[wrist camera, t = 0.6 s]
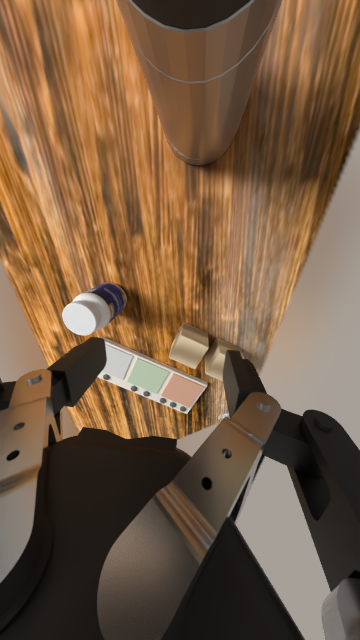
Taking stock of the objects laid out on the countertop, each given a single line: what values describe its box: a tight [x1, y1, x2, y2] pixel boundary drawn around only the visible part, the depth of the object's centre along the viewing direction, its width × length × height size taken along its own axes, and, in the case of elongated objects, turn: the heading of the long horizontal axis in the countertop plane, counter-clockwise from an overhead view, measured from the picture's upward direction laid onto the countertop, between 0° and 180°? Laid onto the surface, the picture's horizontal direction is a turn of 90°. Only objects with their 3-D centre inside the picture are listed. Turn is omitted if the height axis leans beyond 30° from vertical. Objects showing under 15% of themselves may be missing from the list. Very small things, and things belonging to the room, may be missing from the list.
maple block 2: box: [205, 337, 244, 381], centre depth 33 cm, size 5×5×5 cm
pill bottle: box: [62, 283, 127, 335], centre depth 28 cm, size 6×6×10 cm
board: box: [97, 336, 207, 414], centre depth 39 cm, size 10×24×1 cm, turn 66°
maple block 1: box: [169, 322, 209, 369], centre depth 32 cm, size 5×5×5 cm
